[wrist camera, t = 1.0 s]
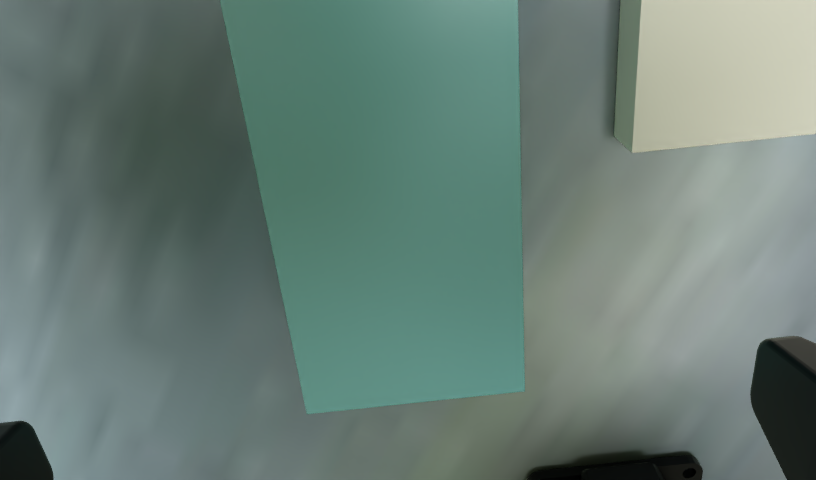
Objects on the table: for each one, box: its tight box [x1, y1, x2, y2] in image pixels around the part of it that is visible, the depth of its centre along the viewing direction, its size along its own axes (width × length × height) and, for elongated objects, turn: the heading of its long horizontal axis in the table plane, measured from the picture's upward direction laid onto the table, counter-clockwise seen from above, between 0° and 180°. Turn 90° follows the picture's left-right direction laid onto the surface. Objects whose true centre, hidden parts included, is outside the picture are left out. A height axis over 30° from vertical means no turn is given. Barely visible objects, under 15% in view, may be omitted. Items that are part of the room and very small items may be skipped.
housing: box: [220, 0, 525, 414], centre depth 17 cm, size 6×12×5 cm, turn 5°
